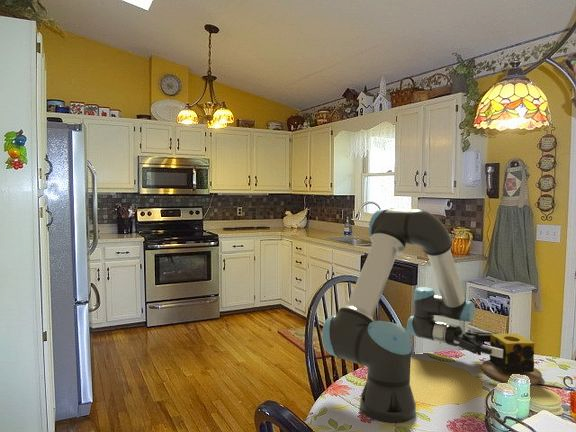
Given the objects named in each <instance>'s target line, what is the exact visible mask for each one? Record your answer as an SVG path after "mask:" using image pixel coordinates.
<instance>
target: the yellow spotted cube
mask: <svg viewBox="0 0 576 432" xmlns="http://www.w3.org/2000/svg"><path fill="white" fill-rule="evenodd" d="M490 337H491V340H490V341H491V342H489V344H490V345H489V346H491V347H495V348H499V349H503V358H499V357H495V356H492V355H488V356H489V360H490V362H491V363H493V364H494V365H495V366H497V367H498V368H500V369H501V370H503V371H504V372H506V373H513V372H515V373H518V372H534V368H535V360H534V356H535V346H536V345H535V343H536V342H533V341H532V340H530V339H528V338H526V337H524V336H523V335H521V334H519V333H517V332H515V333H513V332H511V333H497V334H491V336H490Z"/></svg>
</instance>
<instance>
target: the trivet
mask: <svg viewBox="0 0 576 432" xmlns="http://www.w3.org/2000/svg"><path fill="white" fill-rule="evenodd" d="M481 372H482V373H483V374H484V375H486V376H487V377H489V378H490V379H493V380H495V381H498V382H501V383H504V382H508V380H509V378H510V376H511V375H512V374H520V375H526V376H528V377H529V379H530V383H531V386H537V385H539V384H541V383H542V381H543V374H542V372H541V371H540V370H539V369H537V368H535V367H534V372H518V373H515V372H513V373H506V372H504V371H503V370H501V369H500V368H498V367H497V366H495V365H494V364H493V363H491V362H490V359H487V360H484V361H483V362H482V364H481Z"/></svg>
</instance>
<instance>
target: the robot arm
mask: <svg viewBox="0 0 576 432" xmlns="http://www.w3.org/2000/svg"><path fill="white" fill-rule="evenodd" d="M368 226H369V228H368V234H369V237H370V242H371V244H372V245H371V247H370V249H369V253H368V254H367V256H366V259H365V262H364V264H363V266H362V268H361V271H360V273H359V276H358V278H357V280H356V283H355V284H354V288H353V290H352V291H351V294H350V295H349V299H348V301H347V303H346V305H344V306H341V307H340V308H339V309H338V311H337V314H336V315H331V316H329V317H327V319H326V320H325V321H324V323H323V325H322V326H323V327H322V332H321V340H322V345H323V348H324V350H325V351H326V352H327V353H328V354H329V355H331V356H333V357H336V358H337V359H340V360H346V361H348V362H351V363H354V364H357V365H360V366H364V367H366V368H367V371H366V374H367V375H366V381H365V384H364V387H363V390H362V393H361V396H360V399H359V401H360V405H359V407H360V409H361V411H362V412H363V413H364V414H365V415H366V416H368V417H370V418H372V419H374V420H378V421H381V422H387V423H403V422H408V421H410V420H412V419H413V418H414V417H415V416H416V411H417V407H416V406H417V405H416V401H415V397H414V394H413V391H412V387H411V364H412V363H411V359H412V356H411V355H412V350H413V349H412V339H411V338H412V337H411V336H415V337H417V338H420V339H426V340H430V341H433V342H437V343H438V344H440V345H441V344H447V345H449V346H452V347H459V348H462V349H464V350H466V351H467V352H470V353H472V354H475V355H478V356H482V354H483V355H487V356H489V355H492V356H495V357H499V358H503V349H499V348H495V347H491V346H490V345H486V344H480V342H481V343H491V341H490V340H491V337H490V336H491V334H498V332H489V331H475V330H471V329H467V331H463V330H462V327H461V326H459V325H456V324H452V323H451V324H450V323H448V322H443V321H439V320H435V316H437V317H442V318H447V319H450V320H455V321H459V322H460V321H461V322H467V323H469V322H472V320H473V319H474V318H475V317H474V316H475V315H476V313H475V312H476V304H475V303H474V302H473V301H471V300H469V299H466V298H465V295H464V291H463V288H462V285H461V281H460V278H459V274H458V271H457V267H456V264H455V260H454V257H453V254H452V250H451V249H452V247H453V242H452V237H451V235H450V234H449V231H448V229H447V228H446V227H445V225H444V224H443V223H442V222H441V220H439V219H438V218H437V217H436V216H435V215H434V214H432V213H430V212H429V211H427V210H423V209H406V208H401V209H400V208H392V207H391V208H389V207H388V208H379V209H378V210H376V211H375V212H374V213H373V214H372V215H371V218H370V220H369V223H368ZM407 245H413V246H414V245H416V246H419V247H420V248H421V250H422V252H423V253H424V254H425V255H427V257H428V261H429V264H430V266H431V269H432V272H433V275H434V277H435V281H436V284H437V287H438V290H439V293H440V295H437V294H436V293H435V290H434V288H430V287H428V286H426V287H425V286H420V287H417V288H415V289H414V292H413V315H410V317H409V318H408V319H407V324H406V328H405V327H404V326H402V325H400V324H398V323H395V322H391V321H384V320H375V319H374V318H373V317H374V314H375V312H376V309H377V306H378V304H379V301H380V299H381V296H382V294H383V292H384V289H385V286H386V284H387V281H388V279H389V276H390V273H391V270H392V269H393V266H394V263H395V261H396V258H397V255H400V254H402V253H403V252H404V250H405V248H406V246H407Z"/></svg>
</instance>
